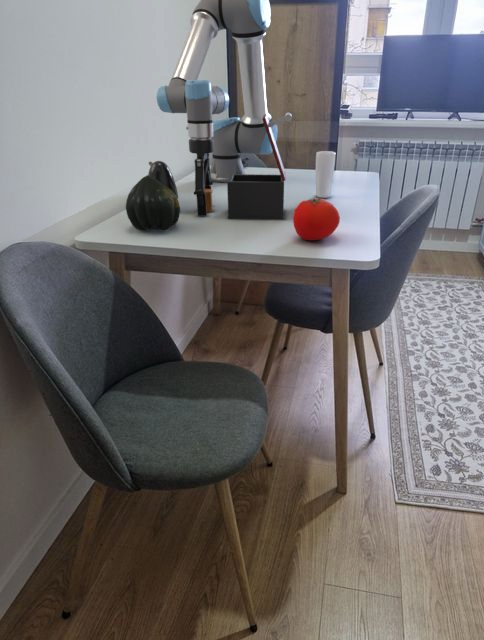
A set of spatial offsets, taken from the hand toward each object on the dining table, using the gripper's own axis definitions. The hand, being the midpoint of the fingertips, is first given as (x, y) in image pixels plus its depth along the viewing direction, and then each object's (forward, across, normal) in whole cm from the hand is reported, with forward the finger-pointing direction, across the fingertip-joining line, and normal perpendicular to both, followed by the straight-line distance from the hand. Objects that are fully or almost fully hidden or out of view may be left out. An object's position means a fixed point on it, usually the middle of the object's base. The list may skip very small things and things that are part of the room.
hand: (205, 210), depth 155 cm
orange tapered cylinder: (0, 0, 0) cm, 0 cm away
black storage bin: (0, +3, +17) cm, 17 cm away
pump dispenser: (0, -1, -14) cm, 14 cm away
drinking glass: (0, -22, +40) cm, 46 cm away
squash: (0, +20, -12) cm, 23 cm away
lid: (-20, +3, +22) cm, 30 cm away
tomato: (0, +28, +34) cm, 44 cm away
